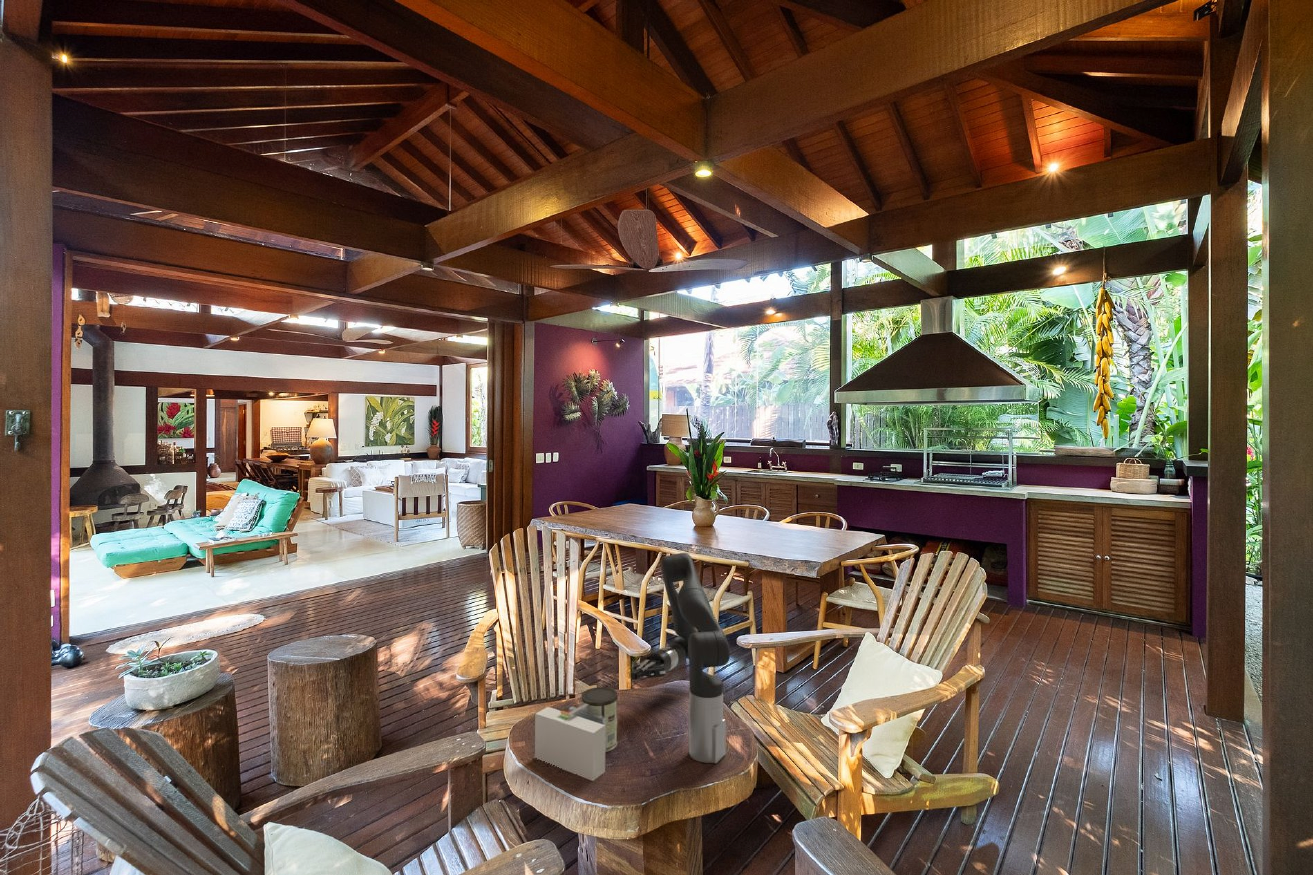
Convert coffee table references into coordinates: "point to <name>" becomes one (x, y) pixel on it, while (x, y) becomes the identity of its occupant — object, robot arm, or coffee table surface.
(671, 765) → the coffee table surface
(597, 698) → the coffee can
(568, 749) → the gauge housing
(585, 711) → the grey t-shaped bracket
